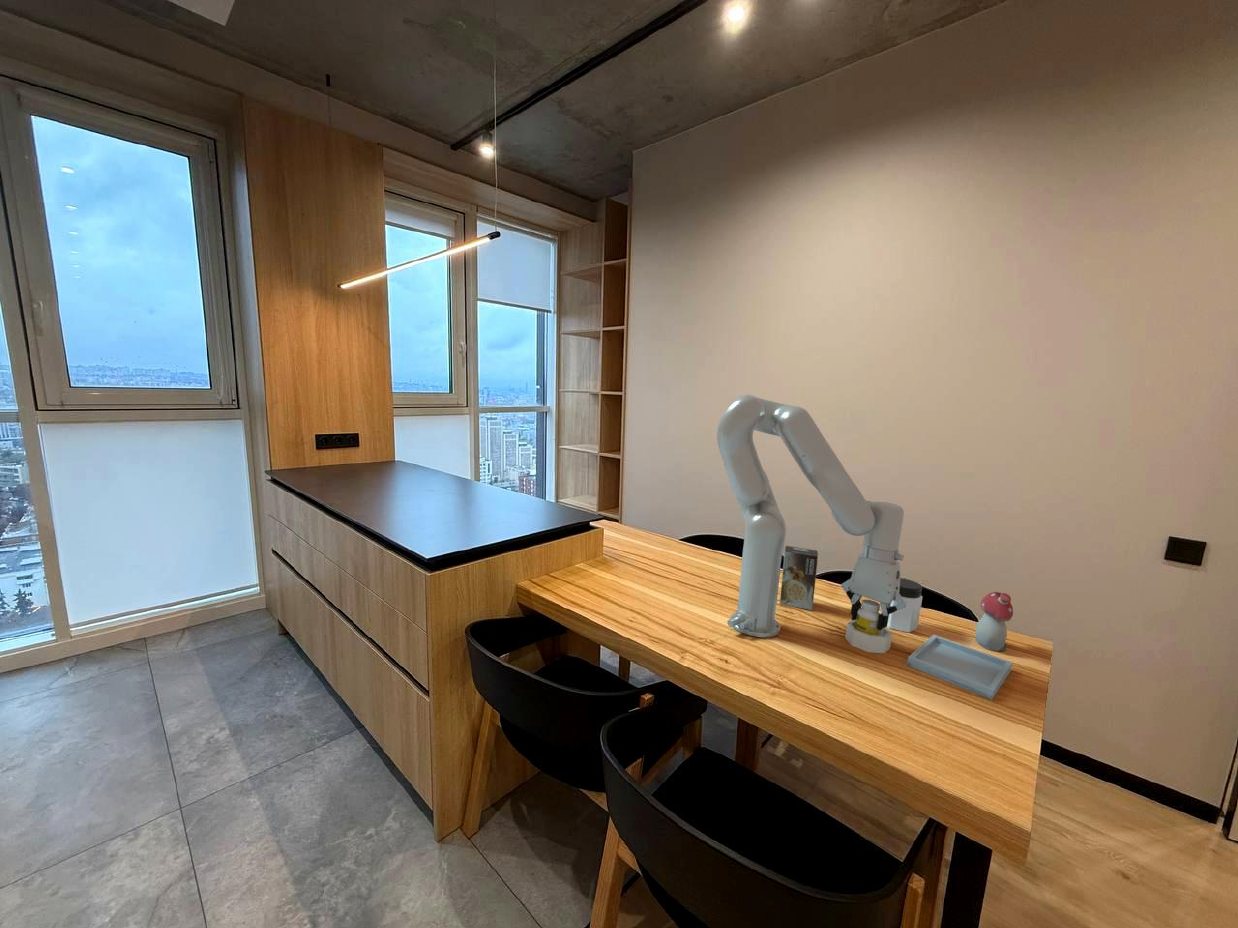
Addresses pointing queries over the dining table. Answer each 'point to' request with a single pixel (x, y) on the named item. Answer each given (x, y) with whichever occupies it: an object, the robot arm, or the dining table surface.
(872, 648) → the bowl
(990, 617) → the decorative ornament
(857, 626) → the supplement bottle
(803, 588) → the coffee box
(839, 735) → the dining table surface
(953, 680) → the tray
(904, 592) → the jar
